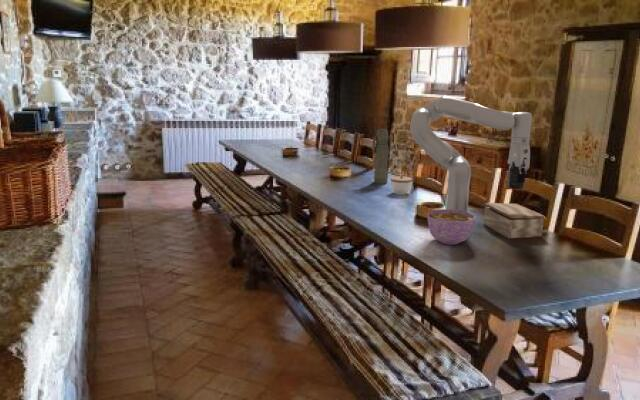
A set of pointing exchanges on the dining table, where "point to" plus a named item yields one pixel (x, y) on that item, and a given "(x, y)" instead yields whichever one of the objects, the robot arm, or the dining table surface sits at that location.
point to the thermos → (381, 156)
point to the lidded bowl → (401, 184)
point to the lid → (514, 210)
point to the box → (513, 225)
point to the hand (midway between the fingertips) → (516, 180)
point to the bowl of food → (450, 225)
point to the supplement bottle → (514, 178)
